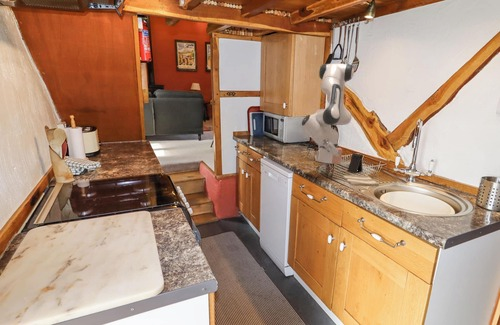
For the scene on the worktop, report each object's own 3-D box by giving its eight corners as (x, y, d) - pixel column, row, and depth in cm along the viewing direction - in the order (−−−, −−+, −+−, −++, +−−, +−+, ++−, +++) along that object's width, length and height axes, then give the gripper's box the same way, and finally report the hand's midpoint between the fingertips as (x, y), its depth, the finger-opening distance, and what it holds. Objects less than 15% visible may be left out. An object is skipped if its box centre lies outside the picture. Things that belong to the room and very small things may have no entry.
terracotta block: (331, 161, 173) (333, 147, 170) (338, 162, 173) (340, 147, 170) (333, 163, 169) (335, 149, 166) (340, 163, 169) (342, 149, 167)
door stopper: (355, 173, 184) (357, 155, 181) (347, 171, 189) (349, 154, 185) (362, 171, 190) (365, 154, 186) (354, 169, 194) (357, 152, 191)
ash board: (342, 176, 176) (342, 175, 175) (367, 177, 176) (367, 175, 176) (351, 185, 161) (351, 183, 161) (378, 186, 162) (378, 184, 161)
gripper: (331, 138, 156) (346, 156, 159) (322, 132, 176) (335, 147, 179) (322, 146, 157) (337, 163, 160) (314, 138, 177) (327, 154, 180)
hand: (336, 155), depth 170 cm, fingers closed on terracotta block, 4 cm apart
